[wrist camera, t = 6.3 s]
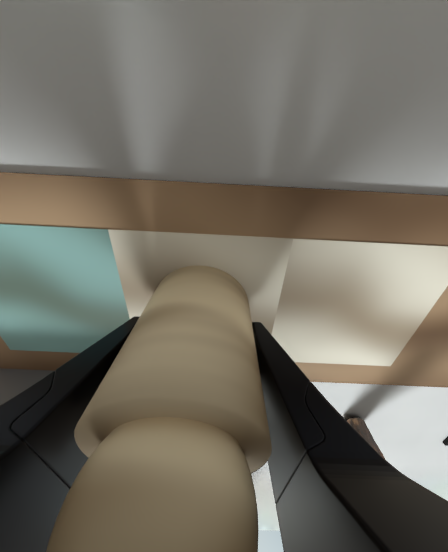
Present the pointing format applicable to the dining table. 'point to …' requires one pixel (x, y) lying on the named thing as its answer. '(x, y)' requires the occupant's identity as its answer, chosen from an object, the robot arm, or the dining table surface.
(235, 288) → the pawn
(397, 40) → the dining table surface
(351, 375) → the game board
